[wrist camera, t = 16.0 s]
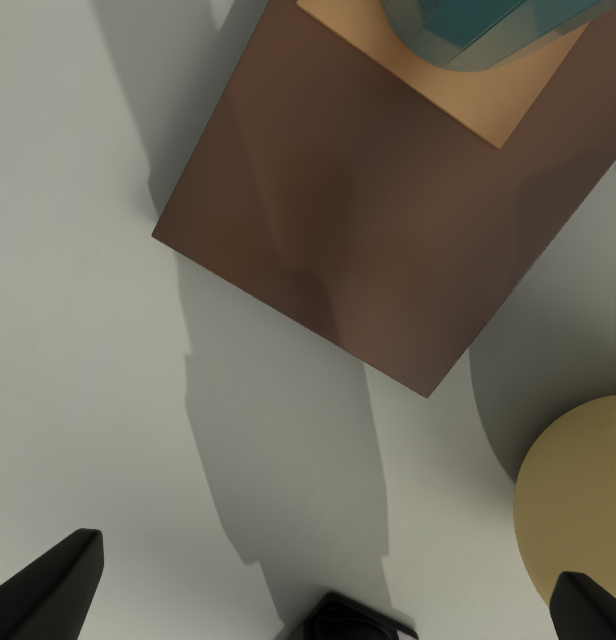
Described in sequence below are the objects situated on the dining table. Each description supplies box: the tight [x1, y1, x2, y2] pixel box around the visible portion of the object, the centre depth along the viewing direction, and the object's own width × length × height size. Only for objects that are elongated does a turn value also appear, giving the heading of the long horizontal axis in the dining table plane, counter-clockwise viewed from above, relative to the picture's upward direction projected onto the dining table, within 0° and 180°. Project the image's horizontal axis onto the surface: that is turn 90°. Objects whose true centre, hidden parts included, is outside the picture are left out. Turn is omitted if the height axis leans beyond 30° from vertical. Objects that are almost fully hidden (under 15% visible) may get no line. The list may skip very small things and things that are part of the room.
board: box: [152, 0, 616, 398], centre depth 17 cm, size 14×20×2 cm
